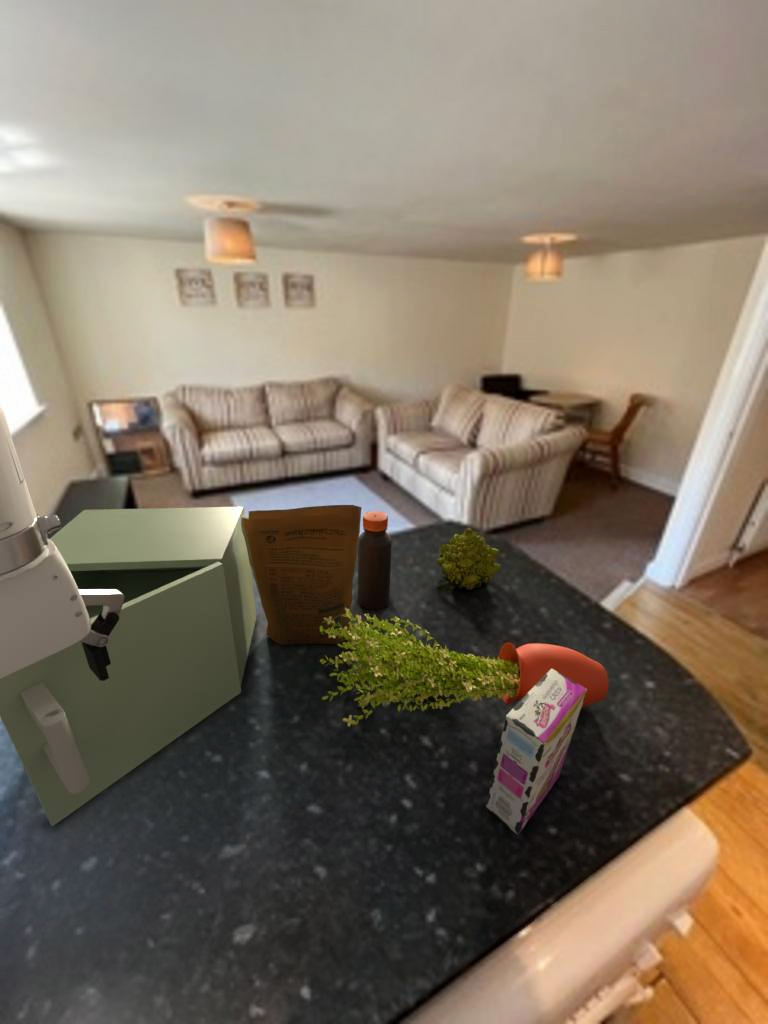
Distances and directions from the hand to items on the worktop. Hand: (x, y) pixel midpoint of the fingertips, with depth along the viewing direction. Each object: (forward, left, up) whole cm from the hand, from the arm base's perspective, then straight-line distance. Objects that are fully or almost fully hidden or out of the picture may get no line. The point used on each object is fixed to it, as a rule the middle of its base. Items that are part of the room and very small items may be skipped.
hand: (45, 702), depth 43 cm
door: (+6, +9, -22) cm, 24 cm away
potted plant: (+48, +18, -22) cm, 55 cm away
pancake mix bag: (+23, +32, -22) cm, 45 cm away
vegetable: (+58, +49, -22) cm, 79 cm away
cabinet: (-1, +30, -22) cm, 37 cm away
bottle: (+36, +43, -22) cm, 61 cm away
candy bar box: (+52, 0, -22) cm, 57 cm away
